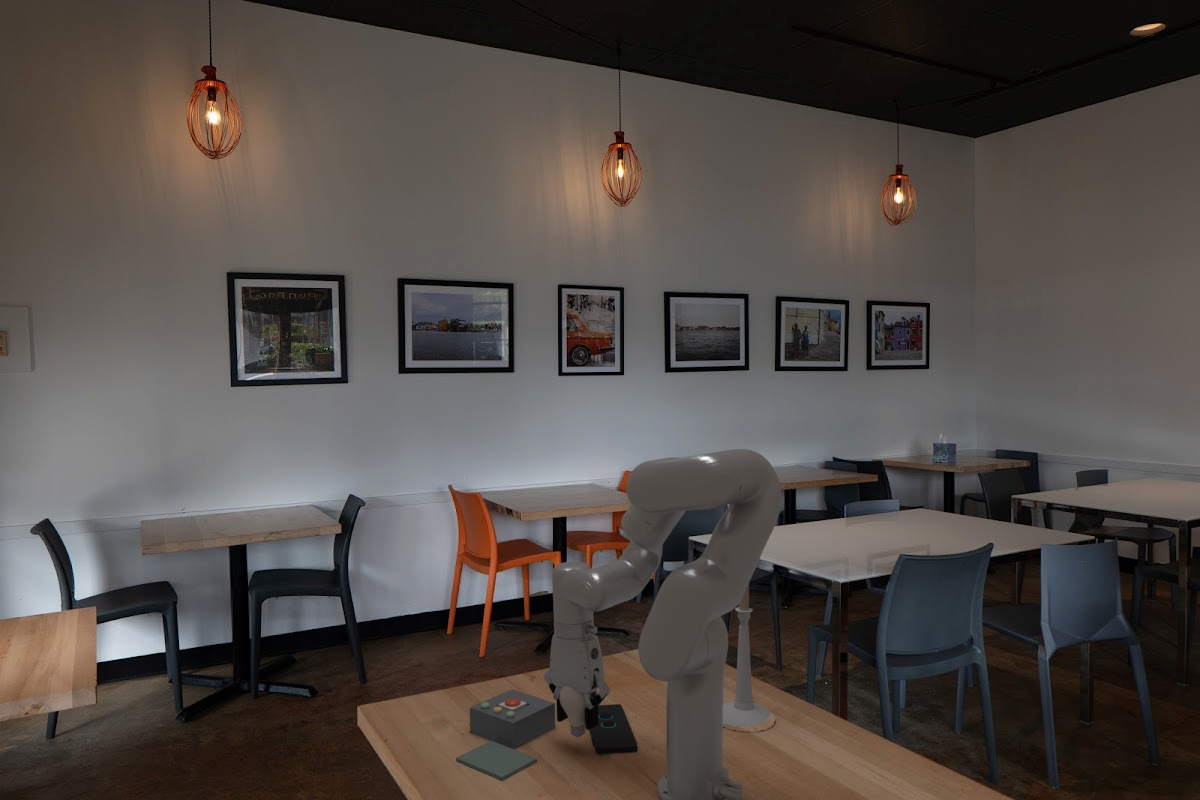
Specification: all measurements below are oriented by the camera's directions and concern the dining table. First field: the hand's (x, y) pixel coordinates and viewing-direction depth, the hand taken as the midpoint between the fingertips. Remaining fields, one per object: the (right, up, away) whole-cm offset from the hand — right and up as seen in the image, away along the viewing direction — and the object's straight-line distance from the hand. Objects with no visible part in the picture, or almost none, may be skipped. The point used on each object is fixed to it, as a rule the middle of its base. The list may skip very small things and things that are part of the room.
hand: (577, 722), depth 158 cm
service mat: (-15, -6, -4) cm, 16 cm away
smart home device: (+6, -6, +9) cm, 12 cm away
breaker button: (-13, -3, +9) cm, 16 cm away
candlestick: (+34, -5, +14) cm, 37 cm away
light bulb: (0, -3, 0) cm, 3 cm away
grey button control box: (-13, -5, +9) cm, 17 cm away
